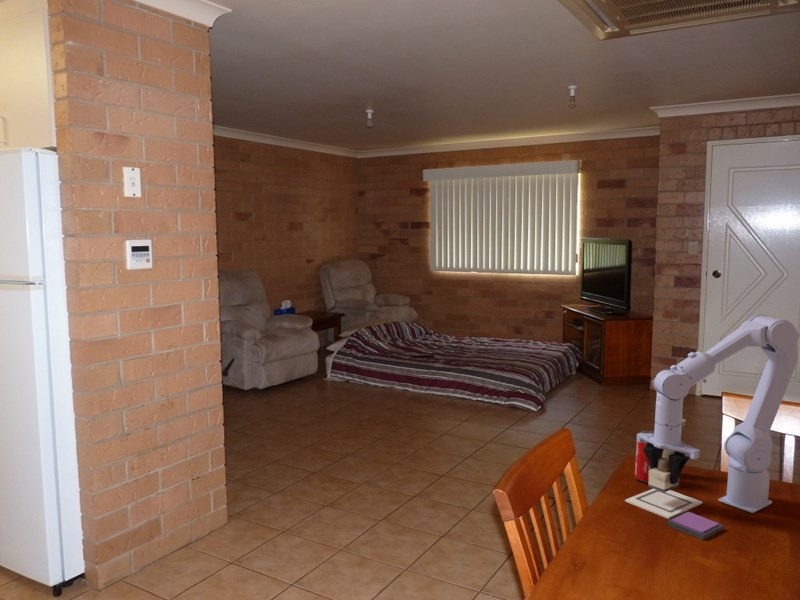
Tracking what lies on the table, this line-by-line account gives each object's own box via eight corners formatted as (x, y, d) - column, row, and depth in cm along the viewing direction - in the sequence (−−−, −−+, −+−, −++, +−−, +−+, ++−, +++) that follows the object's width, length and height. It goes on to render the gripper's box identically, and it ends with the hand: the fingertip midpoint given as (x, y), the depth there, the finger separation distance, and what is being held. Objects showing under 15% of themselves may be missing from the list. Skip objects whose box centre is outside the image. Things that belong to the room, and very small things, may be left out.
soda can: (648, 486, 157) (651, 439, 156) (629, 477, 163) (631, 432, 162) (666, 482, 160) (669, 436, 159) (646, 473, 166) (648, 429, 164)
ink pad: (687, 515, 142) (687, 510, 141) (722, 529, 135) (723, 523, 135) (666, 525, 137) (667, 519, 137) (702, 540, 130) (703, 534, 130)
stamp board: (659, 487, 157) (659, 485, 157) (702, 503, 148) (702, 501, 148) (624, 501, 149) (625, 499, 149) (668, 518, 140) (668, 516, 140)
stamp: (662, 480, 151) (664, 454, 150) (678, 486, 148) (680, 459, 147) (648, 486, 147) (649, 460, 147) (664, 492, 144) (665, 465, 144)
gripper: (630, 417, 150) (627, 473, 151) (688, 434, 138) (684, 494, 140) (647, 413, 154) (644, 467, 155) (705, 428, 142) (701, 487, 144)
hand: (664, 479), depth 148 cm, fingers closed on stamp, 4 cm apart
